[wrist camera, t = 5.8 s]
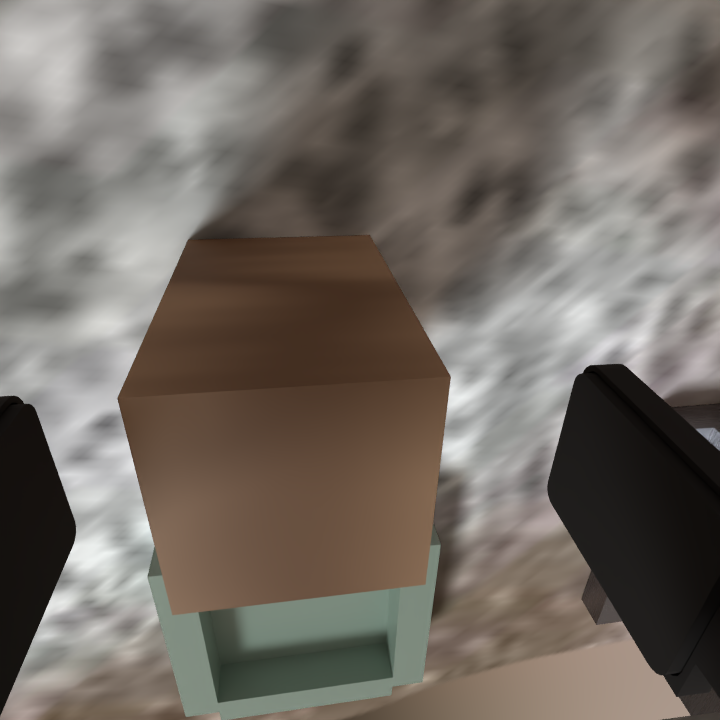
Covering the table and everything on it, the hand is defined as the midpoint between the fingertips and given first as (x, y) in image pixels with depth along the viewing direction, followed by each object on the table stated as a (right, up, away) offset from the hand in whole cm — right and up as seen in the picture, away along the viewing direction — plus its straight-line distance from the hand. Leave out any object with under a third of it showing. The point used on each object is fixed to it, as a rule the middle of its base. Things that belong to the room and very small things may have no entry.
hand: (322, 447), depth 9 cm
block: (-1, +3, +5) cm, 6 cm away
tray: (-1, -7, +10) cm, 12 cm away
